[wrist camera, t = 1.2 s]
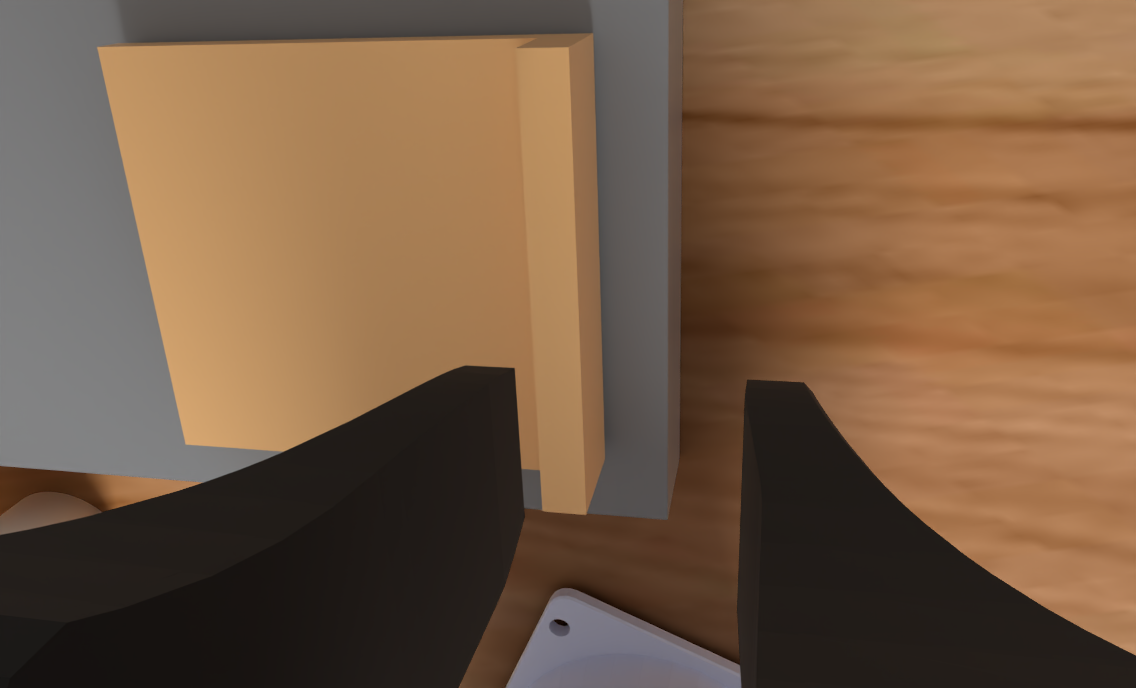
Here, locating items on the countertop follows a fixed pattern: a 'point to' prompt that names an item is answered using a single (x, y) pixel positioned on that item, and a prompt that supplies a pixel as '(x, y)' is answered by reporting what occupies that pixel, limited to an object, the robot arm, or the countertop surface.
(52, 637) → the robot arm
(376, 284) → the panel
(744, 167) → the countertop surface
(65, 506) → the plug
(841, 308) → the countertop surface
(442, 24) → the socket plate
